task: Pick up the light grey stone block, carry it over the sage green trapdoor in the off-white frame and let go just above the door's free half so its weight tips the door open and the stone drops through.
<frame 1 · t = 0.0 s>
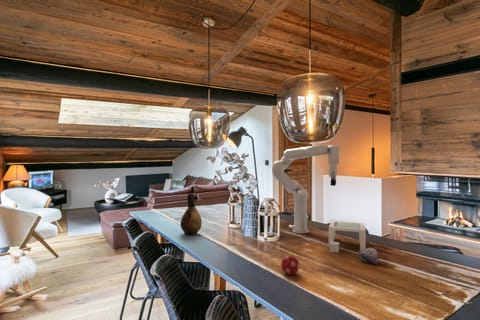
hand: (333, 185, 205), 37 cm above the table, fingers open, 9 cm apart
trapdoor: (346, 225, 183), point 12 cm above the table, hinge at 0.0°
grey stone: (334, 251, 169), on the table
pumice stone: (368, 261, 152), on the table
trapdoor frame: (347, 244, 183), on the table
ceramic jug: (190, 234, 205), on the table
christmas ornament: (290, 274, 134), on the table
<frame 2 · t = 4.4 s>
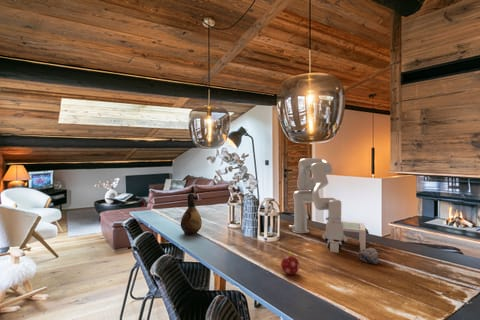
hand: (334, 249, 169), 1 cm above the table, fingers closed on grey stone, 5 cm apart
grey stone: (334, 250, 169), on the table, touching gripper
everything else where it was.
when the fingers open (16 cm above the table, at t = 9.6 s): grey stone drops 12 cm and tips over, point 3 cm above the table.
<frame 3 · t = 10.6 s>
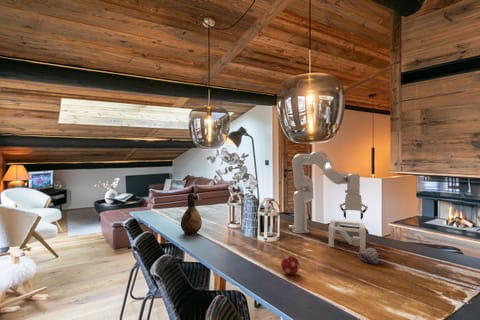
hand: (353, 218, 181), 17 cm above the table, fingers open, 9 cm apart
trapdoor: (343, 232, 184), point 7 cm above the table, hinge at -46.9°
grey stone: (352, 240, 182), point 3 cm above the table, tilted 95°
everything else where it was.
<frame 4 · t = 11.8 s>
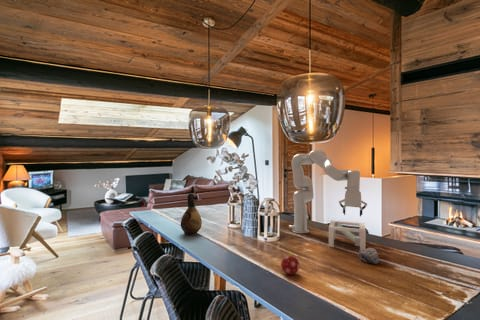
hand: (352, 215, 182), 19 cm above the table, fingers open, 9 cm apart
trapdoor: (344, 231, 183), point 8 cm above the table, hinge at -34.9°, touching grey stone
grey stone: (355, 240, 181), point 3 cm above the table, tilted 93°, touching trapdoor
everything else where it was.
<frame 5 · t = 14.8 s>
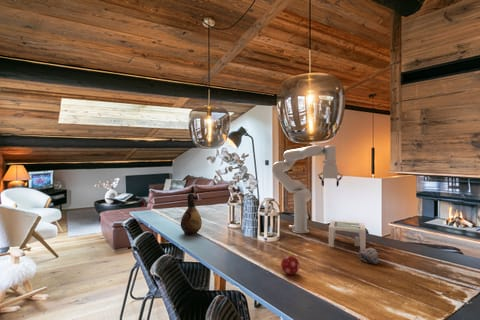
hand: (330, 186, 200), 36 cm above the table, fingers open, 9 cm apart
trapdoor: (346, 227, 183), point 11 cm above the table, hinge at -9.7°
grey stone: (354, 241, 181), point 2 cm above the table, tilted 90°
everything else where it was.
at the end: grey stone point 2.4 cm above the table; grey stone inside the target area on the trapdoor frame (2.5 cm from its centre), point 2.4 cm above the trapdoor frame's base; the gripper is holding nothing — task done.
